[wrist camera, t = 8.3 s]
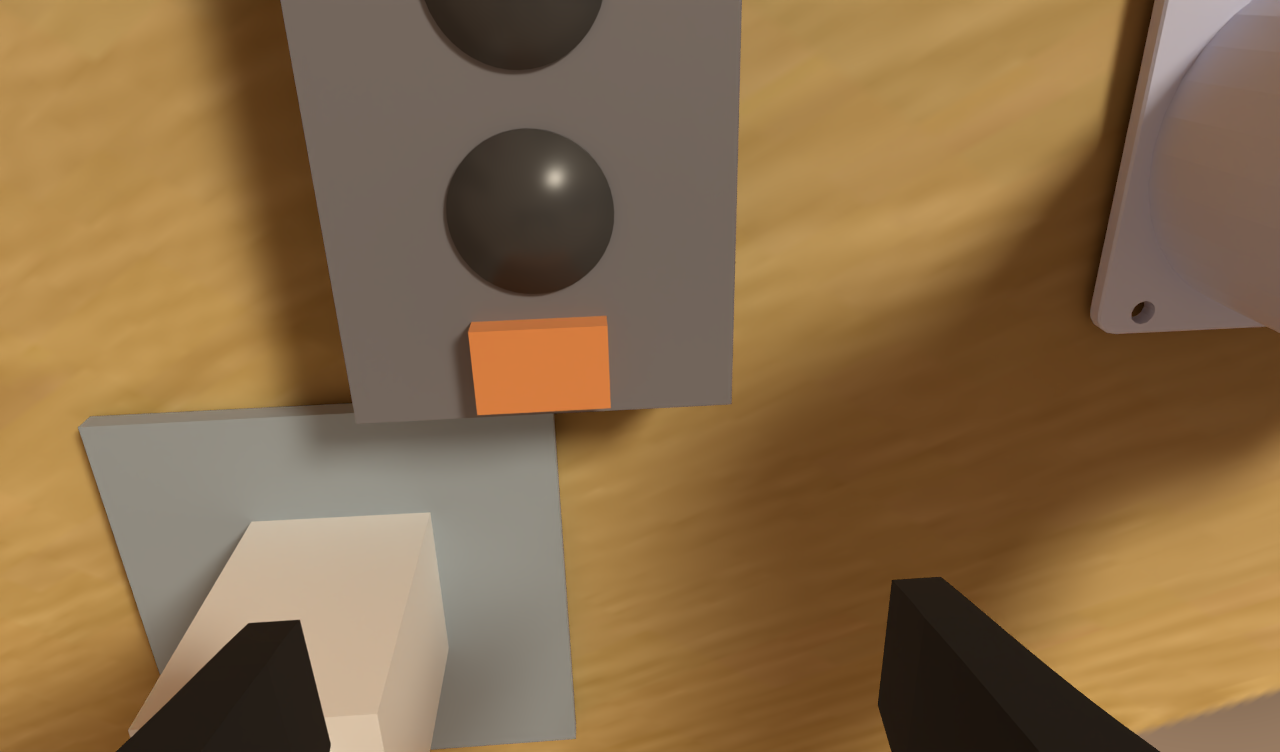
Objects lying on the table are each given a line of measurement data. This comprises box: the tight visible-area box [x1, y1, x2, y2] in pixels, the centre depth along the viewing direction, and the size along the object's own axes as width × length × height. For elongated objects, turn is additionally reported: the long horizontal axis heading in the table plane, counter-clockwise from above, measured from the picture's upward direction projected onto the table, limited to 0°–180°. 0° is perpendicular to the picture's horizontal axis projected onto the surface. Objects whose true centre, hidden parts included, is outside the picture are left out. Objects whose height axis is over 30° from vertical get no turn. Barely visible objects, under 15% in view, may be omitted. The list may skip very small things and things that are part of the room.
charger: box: [128, 512, 449, 752], centre depth 18 cm, size 4×4×6 cm
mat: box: [78, 403, 576, 750], centre depth 21 cm, size 10×10×1 cm
